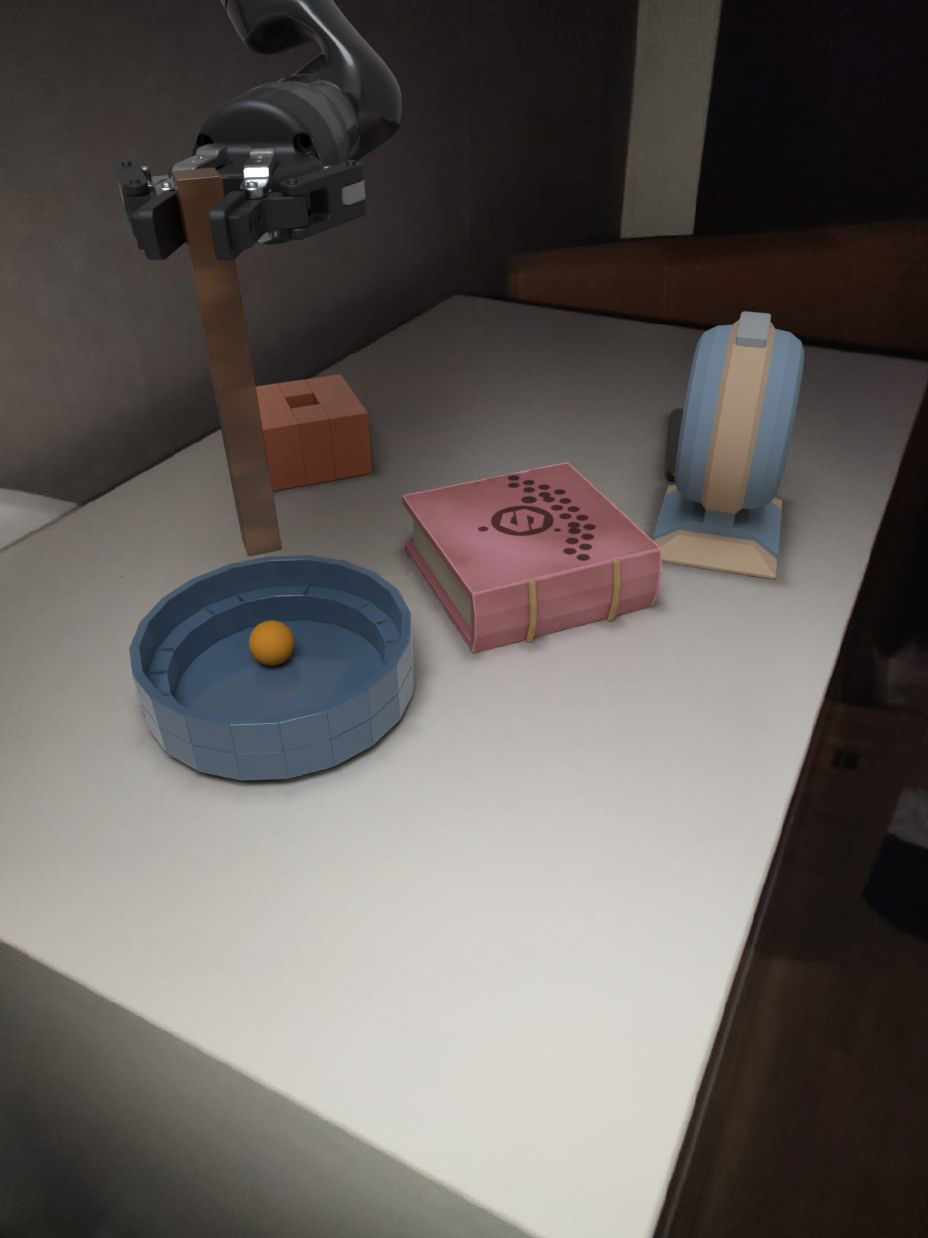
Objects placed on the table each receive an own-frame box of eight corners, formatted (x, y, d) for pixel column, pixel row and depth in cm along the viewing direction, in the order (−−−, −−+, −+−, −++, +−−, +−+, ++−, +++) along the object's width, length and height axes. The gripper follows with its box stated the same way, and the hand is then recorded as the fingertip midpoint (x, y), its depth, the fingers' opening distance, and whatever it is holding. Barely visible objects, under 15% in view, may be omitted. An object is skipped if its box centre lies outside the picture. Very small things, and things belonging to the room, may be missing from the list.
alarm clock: (669, 482, 82) (697, 281, 72) (782, 497, 80) (828, 292, 69) (645, 565, 71) (673, 344, 61) (774, 586, 69) (827, 359, 58)
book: (477, 660, 62) (477, 601, 59) (404, 550, 74) (401, 495, 71) (659, 612, 66) (668, 554, 63) (564, 514, 78) (567, 461, 75)
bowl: (162, 820, 51) (142, 757, 48) (137, 643, 64) (121, 585, 61) (450, 742, 56) (449, 680, 53) (373, 592, 69) (368, 536, 66)
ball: (256, 679, 60) (249, 643, 58) (248, 652, 62) (241, 617, 60) (301, 668, 61) (296, 633, 59) (292, 642, 63) (286, 607, 61)
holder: (268, 492, 82) (258, 430, 78) (249, 447, 89) (239, 388, 85) (372, 473, 84) (368, 412, 81) (346, 431, 92) (340, 373, 88)
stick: (248, 557, 52) (176, 179, 40) (242, 540, 54) (171, 170, 42) (282, 550, 53) (221, 174, 41) (275, 533, 55) (215, 166, 43)
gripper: (149, 87, 52) (5, 143, 39) (390, 85, 51) (331, 141, 38) (176, 225, 57) (56, 319, 43) (398, 226, 56) (348, 322, 42)
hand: (185, 236), depth 40 cm, fingers closed on stick, 2 cm apart
